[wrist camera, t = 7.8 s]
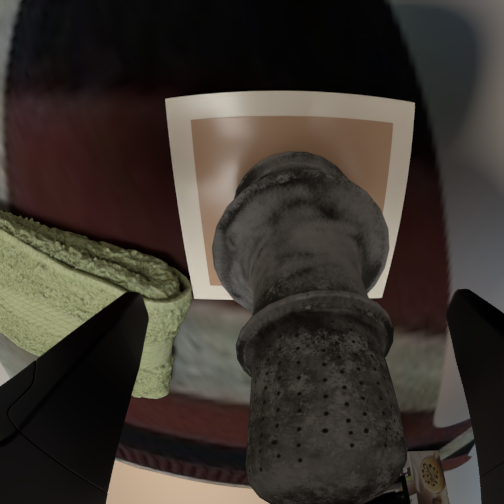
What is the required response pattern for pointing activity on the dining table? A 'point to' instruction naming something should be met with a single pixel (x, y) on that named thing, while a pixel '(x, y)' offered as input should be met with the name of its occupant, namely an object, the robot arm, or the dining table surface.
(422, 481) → the coffee box
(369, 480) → the salt shaker
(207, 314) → the dining table surface
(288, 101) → the coaster
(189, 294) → the washcloth
